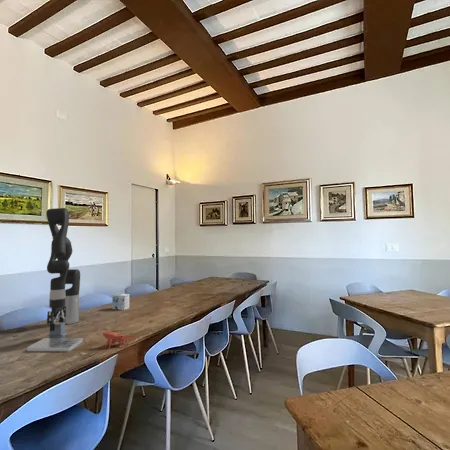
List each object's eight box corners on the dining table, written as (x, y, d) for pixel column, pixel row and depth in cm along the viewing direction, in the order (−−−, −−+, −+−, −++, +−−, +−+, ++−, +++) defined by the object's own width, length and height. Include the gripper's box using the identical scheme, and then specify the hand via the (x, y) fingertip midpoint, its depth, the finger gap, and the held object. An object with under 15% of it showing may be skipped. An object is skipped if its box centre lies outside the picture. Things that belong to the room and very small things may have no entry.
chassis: (44, 341, 161) (44, 337, 161) (82, 341, 161) (82, 338, 161) (26, 351, 147) (26, 347, 147) (69, 351, 147) (69, 347, 147)
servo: (51, 337, 168) (51, 322, 169) (66, 337, 168) (67, 322, 168) (47, 339, 164) (47, 324, 165) (63, 339, 164) (63, 324, 164)
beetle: (100, 351, 148) (100, 324, 149) (104, 342, 161) (105, 317, 161) (133, 348, 152) (133, 322, 152) (135, 340, 164) (135, 316, 164)
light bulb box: (111, 309, 234) (112, 294, 234) (117, 307, 241) (117, 293, 241) (124, 310, 231) (124, 295, 232) (129, 308, 238) (129, 293, 238)
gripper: (57, 295, 174) (57, 324, 173) (42, 300, 160) (41, 332, 159) (71, 295, 174) (70, 325, 173) (57, 300, 160) (56, 332, 159)
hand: (56, 328), depth 166 cm, fingers open, 8 cm apart
